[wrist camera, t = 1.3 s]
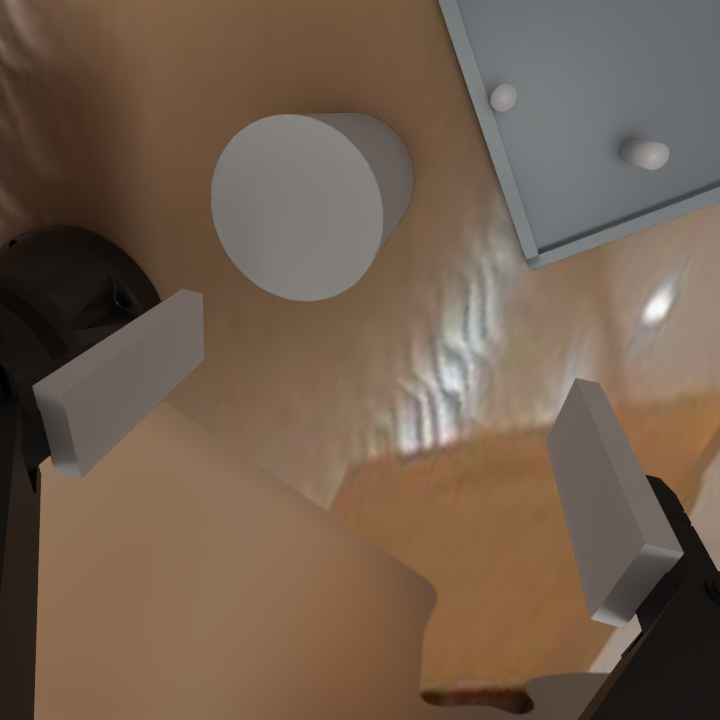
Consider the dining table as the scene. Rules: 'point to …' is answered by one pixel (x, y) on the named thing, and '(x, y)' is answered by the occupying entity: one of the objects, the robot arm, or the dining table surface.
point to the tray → (593, 112)
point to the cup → (310, 200)
